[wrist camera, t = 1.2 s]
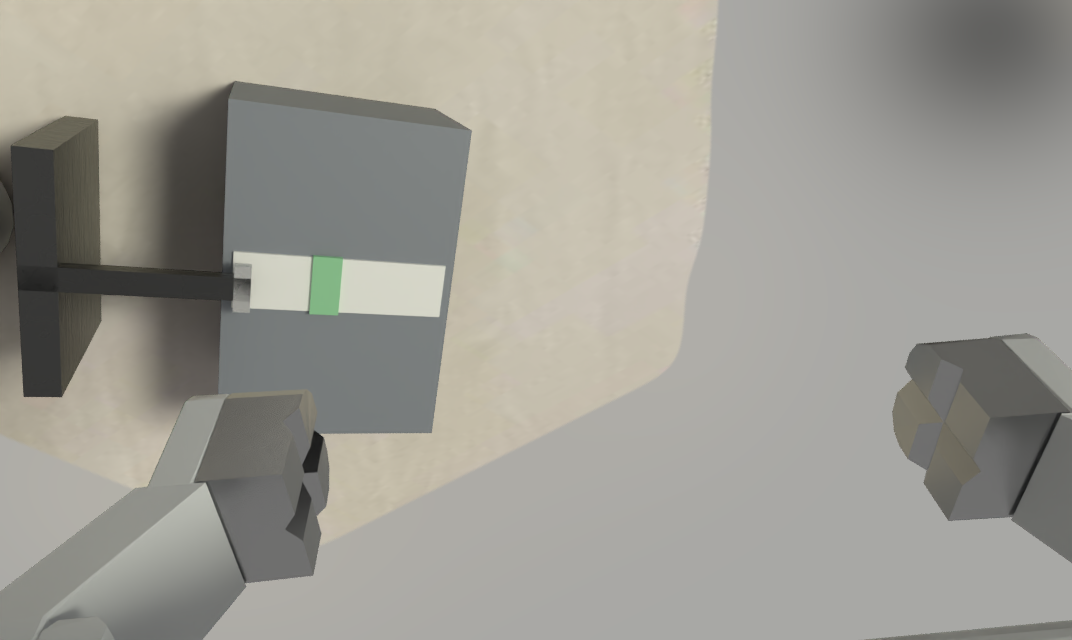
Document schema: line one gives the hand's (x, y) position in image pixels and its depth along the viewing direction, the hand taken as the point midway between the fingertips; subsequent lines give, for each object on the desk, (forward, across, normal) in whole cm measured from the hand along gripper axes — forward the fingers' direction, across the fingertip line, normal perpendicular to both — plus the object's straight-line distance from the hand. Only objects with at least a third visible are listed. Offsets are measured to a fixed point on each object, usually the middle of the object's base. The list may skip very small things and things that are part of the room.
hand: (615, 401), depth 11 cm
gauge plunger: (+35, +21, +15) cm, 43 cm away
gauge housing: (+38, +12, +17) cm, 43 cm away
